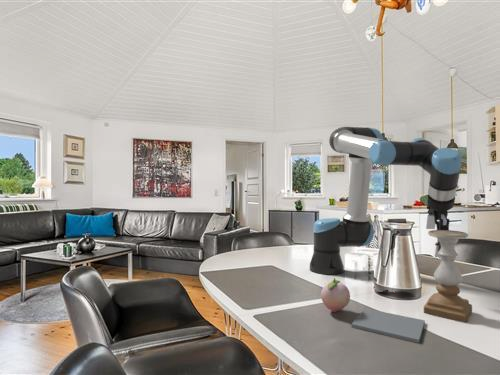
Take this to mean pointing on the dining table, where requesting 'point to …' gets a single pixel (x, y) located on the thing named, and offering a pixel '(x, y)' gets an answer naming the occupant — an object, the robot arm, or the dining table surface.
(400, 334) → the mat
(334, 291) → the decorative fruit
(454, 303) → the candle holder
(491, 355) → the dining table surface
